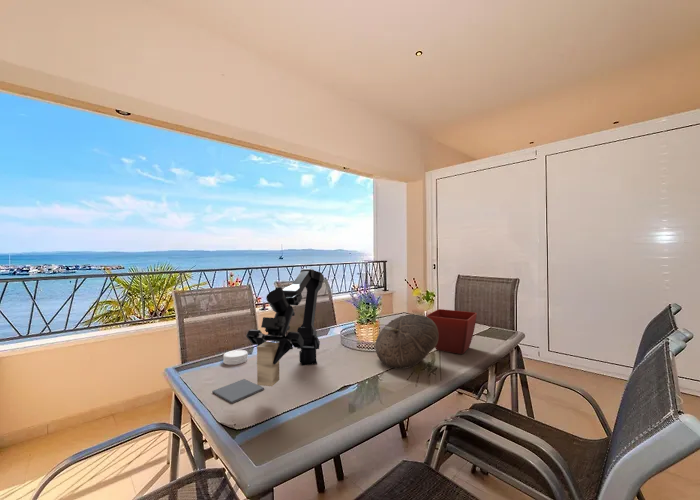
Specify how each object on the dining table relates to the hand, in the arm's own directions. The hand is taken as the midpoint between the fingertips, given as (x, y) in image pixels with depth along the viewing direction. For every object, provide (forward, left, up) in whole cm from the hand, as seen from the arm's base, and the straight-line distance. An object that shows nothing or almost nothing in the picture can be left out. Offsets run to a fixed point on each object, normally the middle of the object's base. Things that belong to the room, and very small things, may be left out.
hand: (266, 363), depth 94 cm
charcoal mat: (+9, -11, -12) cm, 19 cm away
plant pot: (-87, -26, -13) cm, 92 cm away
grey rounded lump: (-58, -18, -13) cm, 62 cm away
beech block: (-1, -1, -7) cm, 7 cm away
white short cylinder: (+12, -42, -13) cm, 46 cm away
